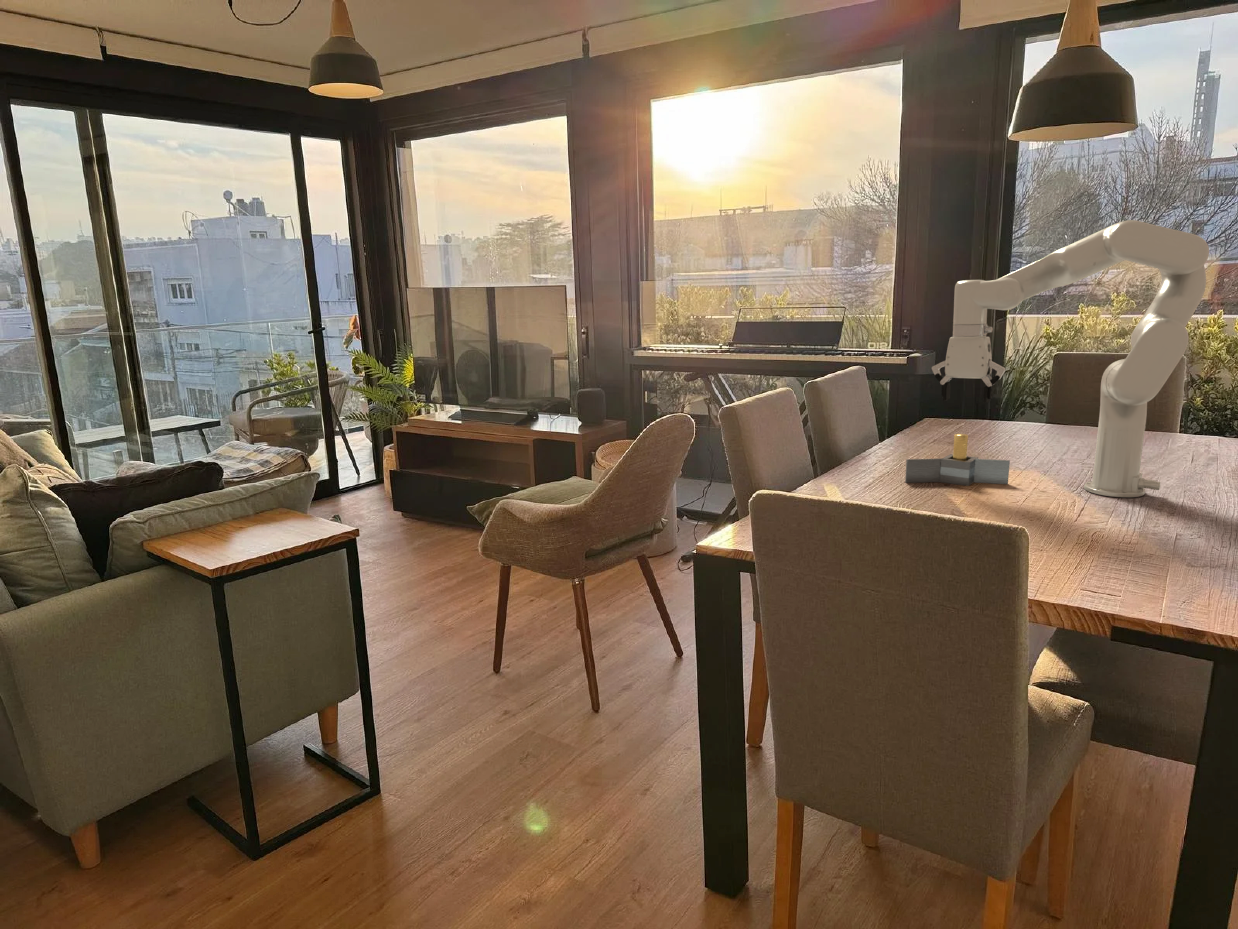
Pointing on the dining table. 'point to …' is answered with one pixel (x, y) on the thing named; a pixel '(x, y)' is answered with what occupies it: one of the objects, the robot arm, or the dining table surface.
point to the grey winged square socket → (957, 470)
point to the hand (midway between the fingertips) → (966, 400)
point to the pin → (960, 447)
